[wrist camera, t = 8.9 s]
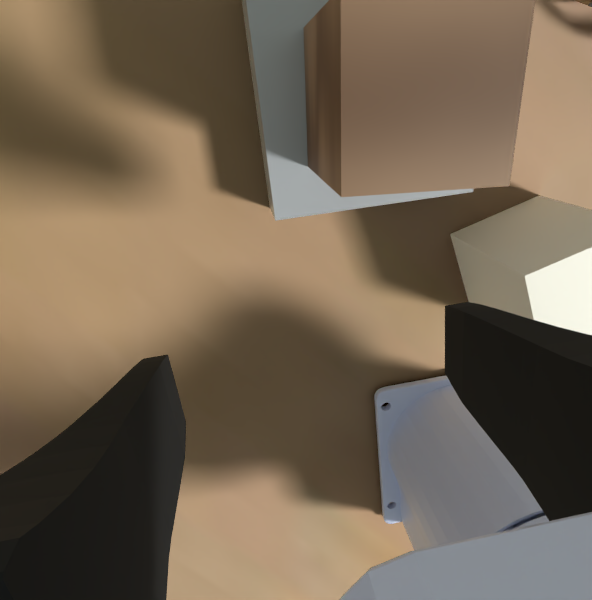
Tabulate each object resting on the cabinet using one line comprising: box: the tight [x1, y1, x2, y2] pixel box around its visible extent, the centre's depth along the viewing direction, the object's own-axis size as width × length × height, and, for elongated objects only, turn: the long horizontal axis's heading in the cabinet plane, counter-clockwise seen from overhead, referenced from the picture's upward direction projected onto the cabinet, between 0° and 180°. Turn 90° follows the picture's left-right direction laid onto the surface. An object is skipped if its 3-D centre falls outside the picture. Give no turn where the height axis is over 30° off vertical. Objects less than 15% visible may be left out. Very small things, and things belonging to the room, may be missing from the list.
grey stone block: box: [242, 0, 473, 220], centre depth 18 cm, size 8×8×3 cm
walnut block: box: [303, 0, 535, 197], centre depth 14 cm, size 4×4×6 cm
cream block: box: [450, 195, 592, 335], centre depth 20 cm, size 4×4×6 cm
